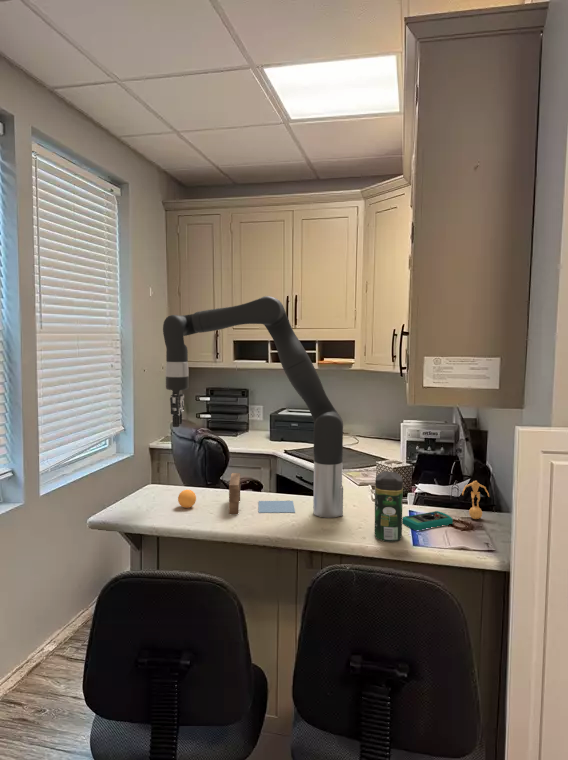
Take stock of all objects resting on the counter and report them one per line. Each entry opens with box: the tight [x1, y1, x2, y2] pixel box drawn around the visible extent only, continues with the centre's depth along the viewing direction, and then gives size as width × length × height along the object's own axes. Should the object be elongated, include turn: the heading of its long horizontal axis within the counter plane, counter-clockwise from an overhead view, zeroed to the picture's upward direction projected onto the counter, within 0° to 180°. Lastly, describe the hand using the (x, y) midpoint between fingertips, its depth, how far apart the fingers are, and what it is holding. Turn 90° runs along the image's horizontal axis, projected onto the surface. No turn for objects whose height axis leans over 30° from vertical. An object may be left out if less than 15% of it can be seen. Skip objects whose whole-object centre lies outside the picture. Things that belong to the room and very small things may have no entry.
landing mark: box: [258, 500, 296, 514], centre depth 175 cm, size 12×12×1 cm
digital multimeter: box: [402, 510, 454, 531], centre depth 160 cm, size 7×15×3 cm, turn 116°
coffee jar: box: [374, 470, 404, 543], centre depth 149 cm, size 10×8×19 cm
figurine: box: [461, 480, 490, 520], centre depth 166 cm, size 8×6×12 cm
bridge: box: [228, 472, 241, 515], centre depth 174 cm, size 3×15×10 cm, turn 2°
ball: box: [177, 489, 197, 509], centre depth 174 cm, size 6×6×6 cm
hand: (177, 425), depth 175 cm, fingers open, 5 cm apart
